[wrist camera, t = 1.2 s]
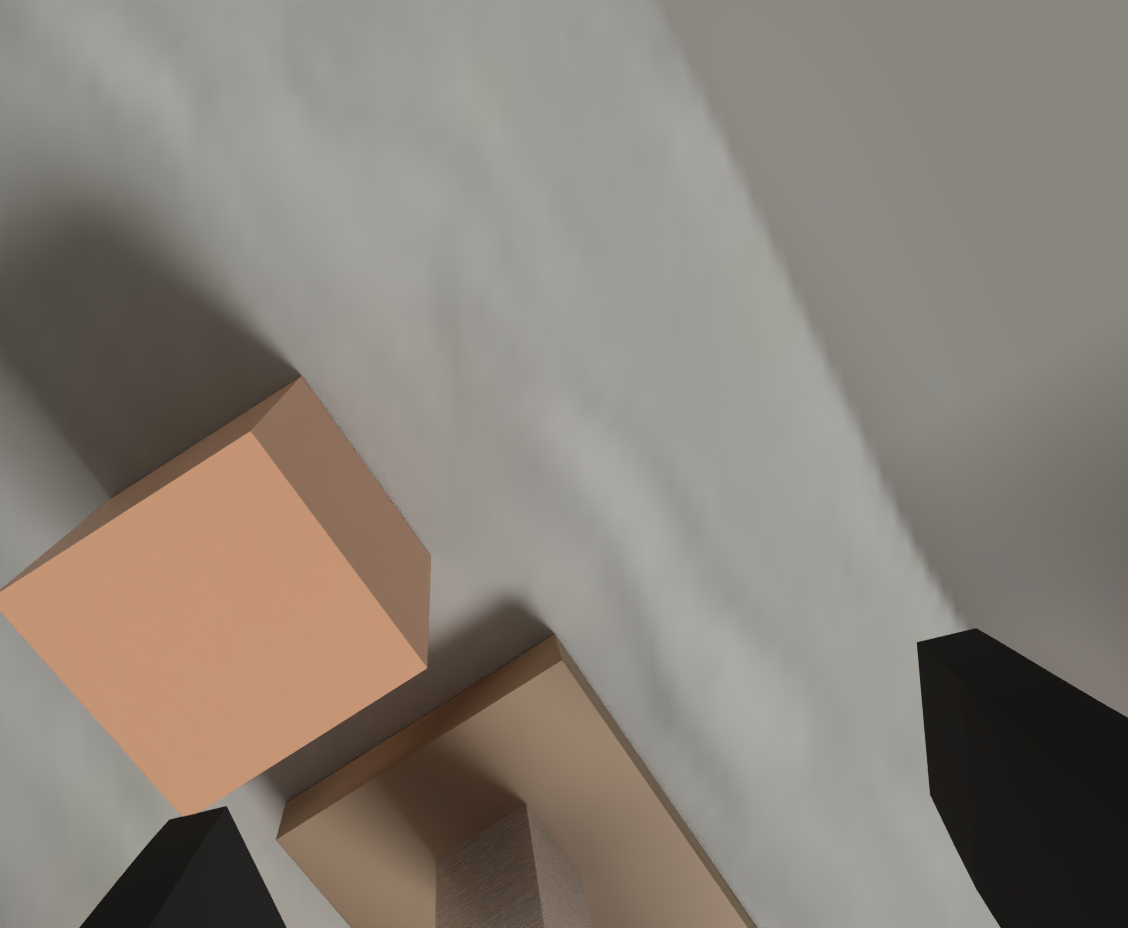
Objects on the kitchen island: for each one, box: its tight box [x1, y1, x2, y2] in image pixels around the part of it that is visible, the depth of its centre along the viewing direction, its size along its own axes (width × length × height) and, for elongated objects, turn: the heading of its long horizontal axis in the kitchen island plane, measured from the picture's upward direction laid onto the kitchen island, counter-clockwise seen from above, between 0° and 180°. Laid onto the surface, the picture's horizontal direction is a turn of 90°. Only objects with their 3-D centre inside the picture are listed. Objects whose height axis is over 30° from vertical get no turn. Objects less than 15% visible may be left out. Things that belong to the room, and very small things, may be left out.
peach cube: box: [0, 376, 431, 817], centre depth 19 cm, size 5×5×6 cm
